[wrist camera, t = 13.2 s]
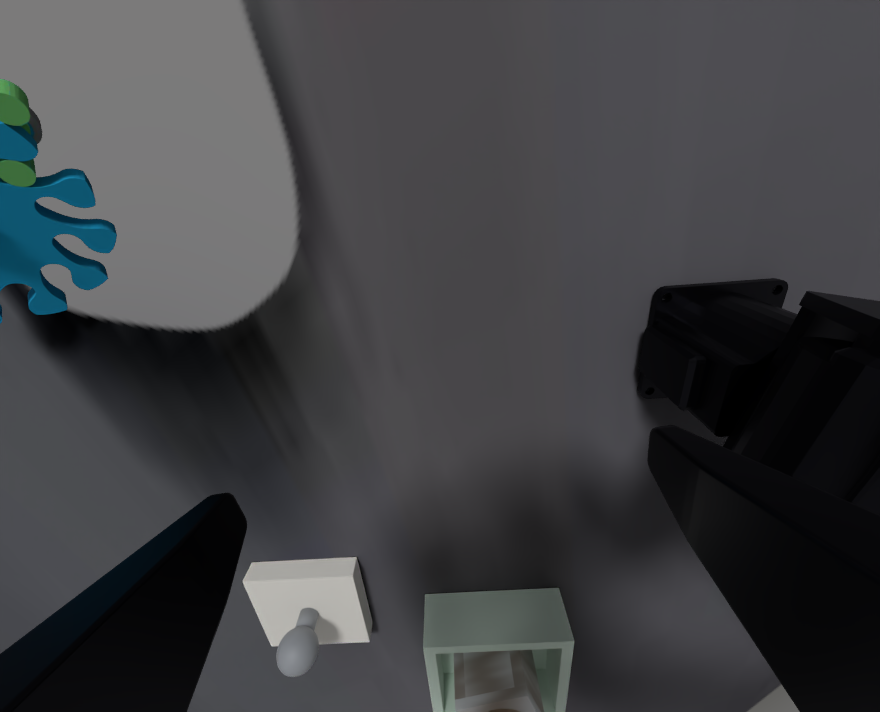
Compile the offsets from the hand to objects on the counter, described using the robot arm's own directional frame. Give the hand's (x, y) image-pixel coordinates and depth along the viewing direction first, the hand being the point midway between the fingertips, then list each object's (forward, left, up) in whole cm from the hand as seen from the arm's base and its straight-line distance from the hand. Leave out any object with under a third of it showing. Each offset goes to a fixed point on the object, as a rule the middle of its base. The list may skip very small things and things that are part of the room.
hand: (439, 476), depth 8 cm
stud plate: (+12, +23, -13) cm, 29 cm away
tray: (-2, +29, -13) cm, 32 cm away
